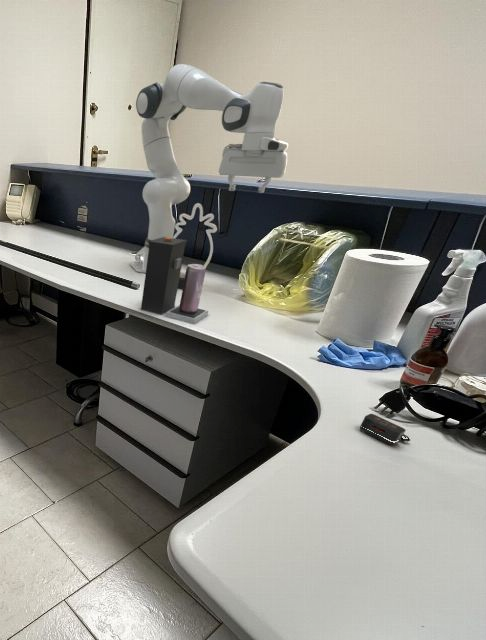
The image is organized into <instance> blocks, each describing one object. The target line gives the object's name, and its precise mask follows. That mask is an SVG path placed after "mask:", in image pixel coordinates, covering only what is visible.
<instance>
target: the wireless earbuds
mask: <svg viewBox="0 0 486 640" xmlns="http://www.w3.org/2000/svg"><path fill="white" fill-rule="evenodd" d="M361 426H362V427H361ZM363 427H364V428H363ZM365 428H366V429H365ZM367 429H369V430H371V431H373V432H374V433H373V432H371V431H369V430H367ZM359 430H360V431H362V432H364V433H365V434H367V435H370V436H371V437H373V438H375V439H377V440H379V441H381V442H382V443H385V444H387V445H389V446H394V445H397V444H399V443H400V442H402V443H405V442H406V443H407V442H408V443H409V442H411V438H410V437H409V436H408V435H406V434H405V433H406V432H407V431H406V429H405V428H404V427H402V426H400V425H398V424H396V423H394V422H391V421H389V420H387V419H385V418H383V417H380V416H379V415H376V414H374V413H369V414H367V415H365V416H364V418H363V420H362V422H361V424H360V426H359ZM375 433H376V434H375ZM377 434H379V435H381V436H383V437H385V438H387V439H389V440H391V441H397V440H399V441H398V442H395V443H393V442H390V441H388V440H386V439H384V438H383V437H381V436H379V435H377ZM402 436H404V437H405V438H406V437H407V438H408V439H403V438H402ZM409 438H410V439H409ZM400 439H401V440H400Z"/></svg>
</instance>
